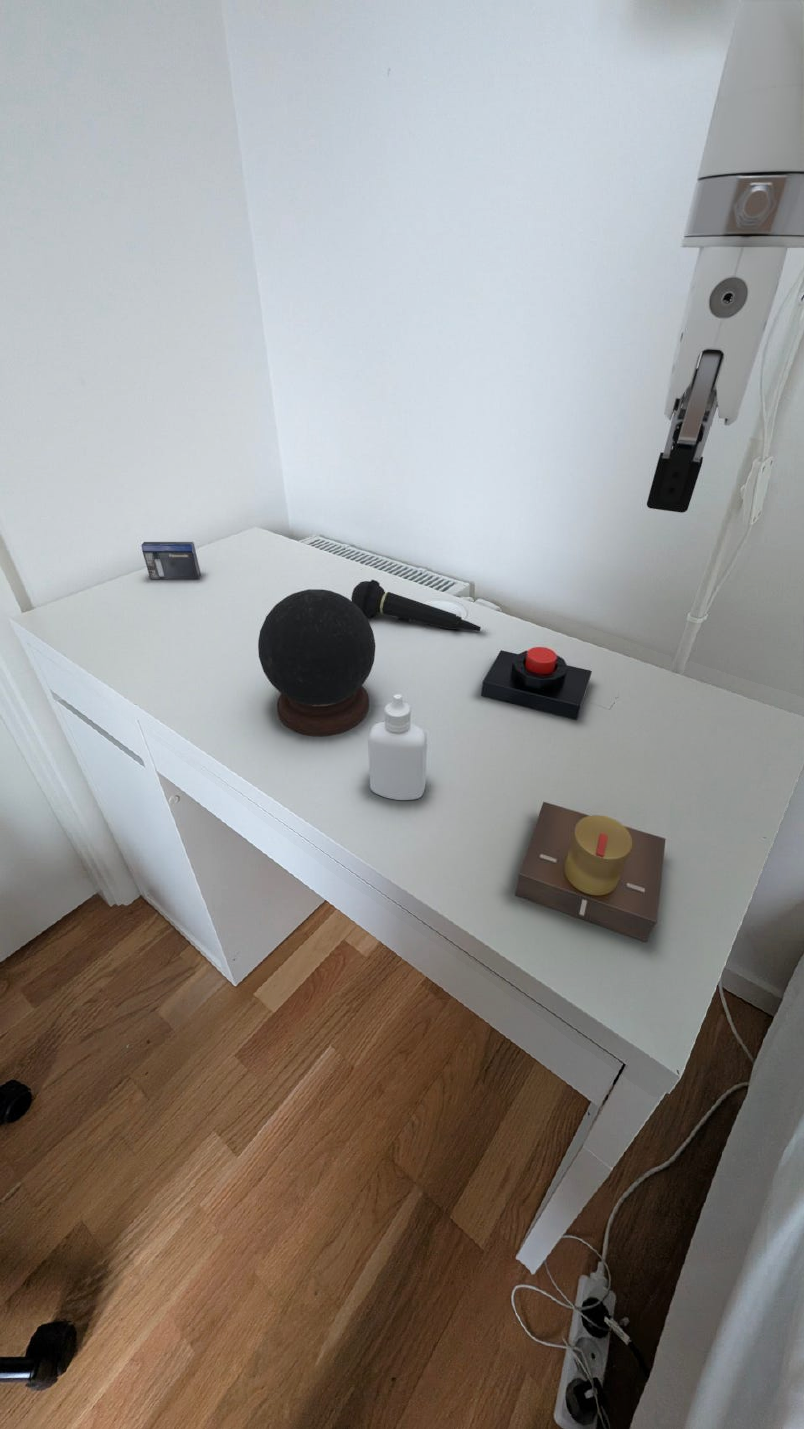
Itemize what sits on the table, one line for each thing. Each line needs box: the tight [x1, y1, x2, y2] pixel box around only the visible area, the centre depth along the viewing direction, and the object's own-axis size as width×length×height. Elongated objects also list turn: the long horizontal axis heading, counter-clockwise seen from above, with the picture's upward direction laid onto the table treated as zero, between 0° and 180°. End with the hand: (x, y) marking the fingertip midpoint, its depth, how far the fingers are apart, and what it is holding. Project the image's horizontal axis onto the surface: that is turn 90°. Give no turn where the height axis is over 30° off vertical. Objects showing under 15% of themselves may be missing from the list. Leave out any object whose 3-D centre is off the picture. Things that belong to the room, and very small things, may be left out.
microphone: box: [350, 579, 482, 632], centre depth 86 cm, size 6×6×20 cm
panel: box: [514, 801, 667, 943], centre depth 50 cm, size 11×11×3 cm
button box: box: [480, 649, 593, 721], centre depth 73 cm, size 12×8×4 cm, turn 66°
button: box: [525, 646, 558, 674], centre depth 71 cm, size 4×4×2 cm
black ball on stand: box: [257, 588, 376, 737], centre depth 66 cm, size 13×13×15 cm
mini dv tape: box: [140, 541, 202, 580], centre depth 97 cm, size 8×2×6 cm, turn 90°
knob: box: [564, 814, 632, 895], centre depth 47 cm, size 4×4×5 cm
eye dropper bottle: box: [367, 694, 428, 801], centre depth 56 cm, size 4×6×12 cm
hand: (666, 507), depth 48 cm, fingers closed
